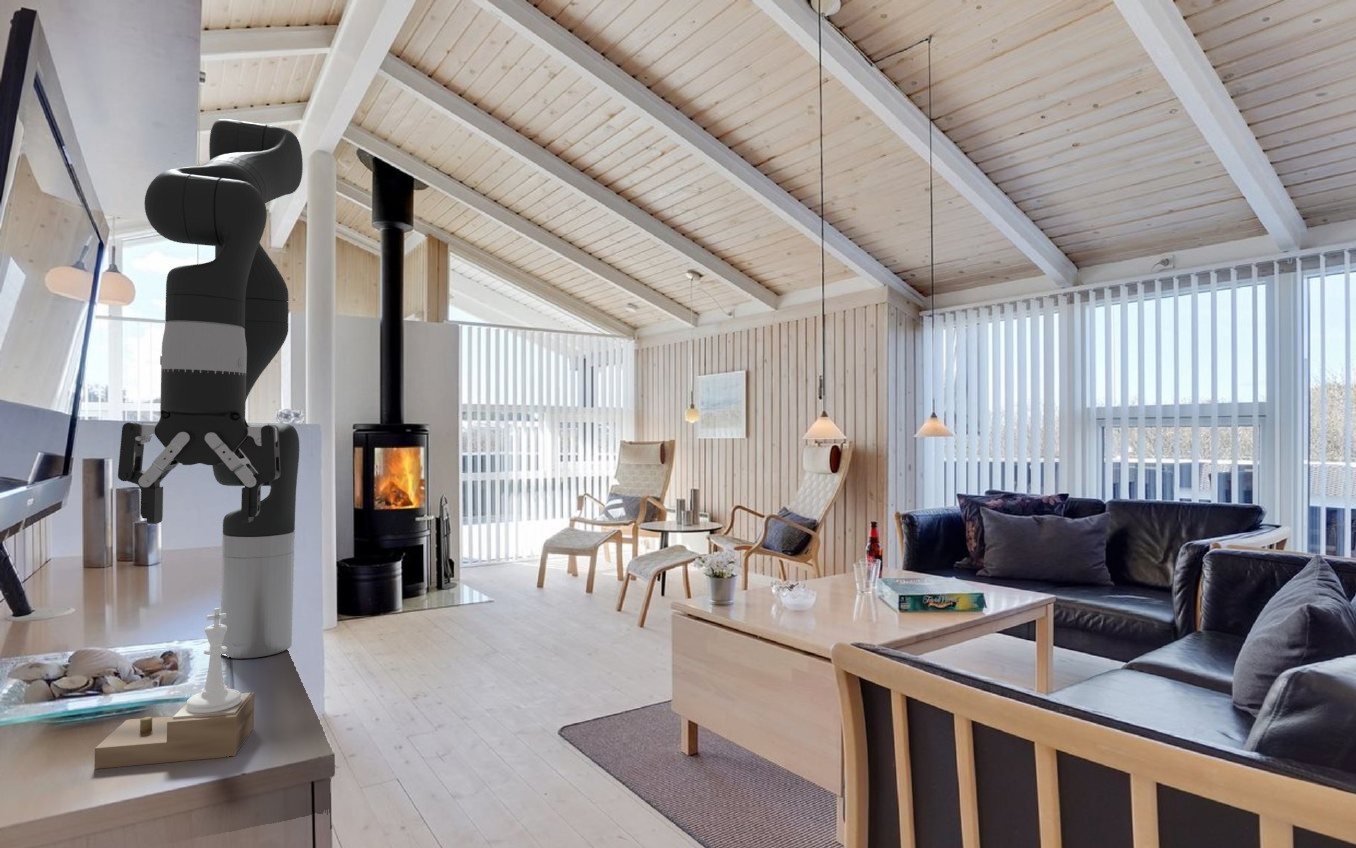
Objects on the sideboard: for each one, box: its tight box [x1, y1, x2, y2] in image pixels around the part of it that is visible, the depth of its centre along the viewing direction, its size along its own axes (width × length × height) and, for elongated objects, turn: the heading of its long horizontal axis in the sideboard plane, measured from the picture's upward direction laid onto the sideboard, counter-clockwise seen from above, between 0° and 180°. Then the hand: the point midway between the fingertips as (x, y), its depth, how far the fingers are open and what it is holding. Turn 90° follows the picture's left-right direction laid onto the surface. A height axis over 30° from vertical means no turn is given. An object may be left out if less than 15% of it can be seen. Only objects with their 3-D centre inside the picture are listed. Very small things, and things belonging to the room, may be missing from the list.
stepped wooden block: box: [93, 691, 256, 770], centre depth 76 cm, size 7×12×4 cm, turn 106°
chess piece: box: [186, 607, 242, 713], centre depth 77 cm, size 5×5×10 cm
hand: (201, 522), depth 77 cm, fingers open, 8 cm apart
